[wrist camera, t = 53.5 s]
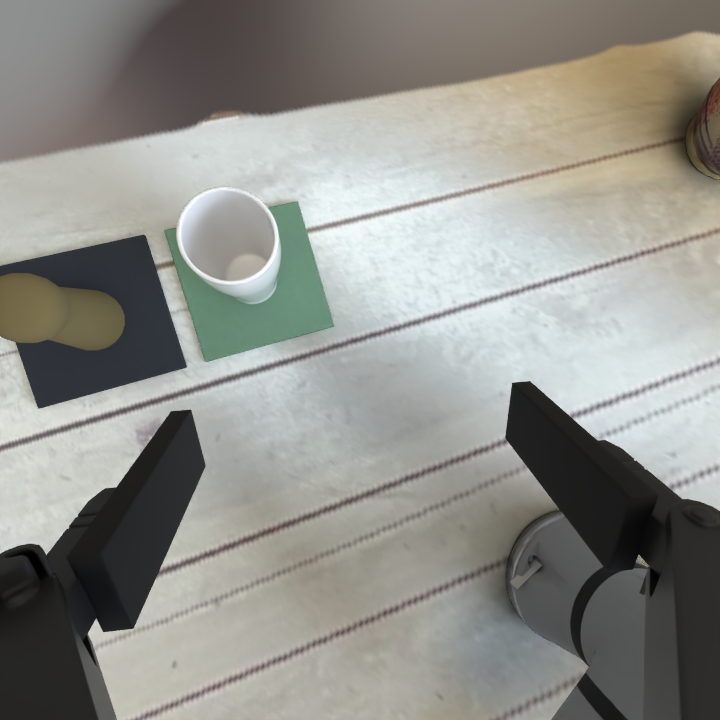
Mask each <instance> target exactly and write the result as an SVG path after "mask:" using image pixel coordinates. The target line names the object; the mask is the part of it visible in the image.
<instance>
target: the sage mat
mask: <svg viewBox="0 0 720 720" xmlns="http://www.w3.org/2000/svg"><path fill="white" fill-rule="evenodd" d="M268 209H269V210H270V212H271V213H272V215H273V217H274V219H275V222H276V225H277V228H278V232H279V236H280V242H281V263H280V268H279V272H278V276H277V286H276V289H275V291H274V293H273V294H272V296H271V297H270V298H269V299H267V300H266V301H264V302H262V303H259V304H245V303H242V302H240V301H238V300H236V299H235V298H234V297H231V296H229V295H226V294H224V293H222V292H219V291H218V290H216V289H214V288H212V287H211V286H209V285H208V284H207V283H205V282H204V281H203V280H202V279H201V278H200V277H199V276H197V275H196V274H195V272H194V271H193V270H192V269H191V268H190V267H189V266H188V264H187V263H186V262H185V260H184V259H183V257H182V255H181V253H180V250H179V247H178V244H177V238H176V228H173V229H168V230H165V234H166V237H167V240H168V244H169V247H170V250H171V253H172V256H173V260H174V263H175V266H176V269H177V272H178V276H179V279H180V282H181V285H182V288H183V292H184V295H185V298H186V301H187V304H188V308H189V311H190V314H191V317H192V320H193V324H194V327H195V330H196V333H197V336H198V340H199V343H200V346H201V349H202V352H203V356H204V359H205V362H208V361H211V360H215V359H218V358H222V357H226V356H229V355H233V354H236V353H240V352H244V351H247V350H251V349H254V348H258V347H261V346H265V345H269V344H272V343H276V342H279V341H283V340H287V339H290V338H294V337H297V336H301V335H304V334H308V333H312V332H315V331H319V330H322V329H326V328H330V327H333V326H334V324H333V321H332V317H331V314H330V311H329V307H328V304H327V300H326V297H325V293H324V290H323V286H322V283H321V280H320V276H319V273H318V269H317V266H316V262H315V259H314V255H313V252H312V249H311V245H310V242H309V238H308V235H307V231H306V228H305V224H304V221H303V218H302V214H301V211H300V207H299V204H298V202H293V203H288V204H283V205H279V206H274V207H270V208H268Z"/></svg>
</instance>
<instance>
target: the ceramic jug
mask: <svg viewBox="0 0 720 720" xmlns="http://www.w3.org/2000/svg"><path fill="white" fill-rule="evenodd" d="M685 140H686V149H687V153H688V156H689V158H690V160H691V162H692V164H693V165H694V166H695V167H696V168H697V169H698V170H699V171H701V172H702V173H703V174H705V175H707V176H710V177H712V178H715V179H719V180H720V78H719V79H718V80H717V82H716V83H715V84H714V85H713V86H712V88H711V90H710V91H709V93H708V95H707V97H706V99H705V101H704V103H703V105H702V107H701V109H700V111H699V113H698V114H697V115H696V116H695V117H694V118H693V119H692V120H691V121H690V123H689V126H688V128H687V131H686V137H685Z"/></svg>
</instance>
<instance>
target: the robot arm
mask: <svg viewBox="0 0 720 720" xmlns="http://www.w3.org/2000/svg"><path fill="white" fill-rule="evenodd" d="M505 438H506V439H507V441H508V442H509V443H510V445H511V446H512V447H513V449H514V450H515V451H516V453H517V454H518V455H519V457H520V458H521V459H522V460H523V462H524V463H525V464H526V466H527V467H528V468H529V470H530V471H531V472H532V474H533V475H534V476H535V478H536V479H537V480H538V482H539V483H540V484H541V485H542V487H543V488H544V489H545V491H546V492H547V493H548V495H549V496H550V497H551V499H552V500H553V501H554V503H555V504H556V505H557V506H558V508H559V509H560V510H561V511H557V512H552V513H549V514H547V515H545V516H542V517H541V518H539V519H537V520H536V521H535V522H533V523H532V524H531V525H530V526H529V527H527V529H526V530H525V531H524V532H523V533H522V534H521V536H520V537H519V538H518V540H517V542H516V543H515V545H514V547H513V550H512V552H511V555H510V558H509V561H508V566H507V576H506V578H507V590H508V594H509V597H510V600H511V603H512V605H513V607H514V609H515V610H516V612H517V613H518V615H519V616H520V617H521V618H522V619H523V620H524V622H525V623H526V624H527V625H528V626H529V627H530V628H531V629H532V630H533V631H534V632H535V633H537V634H538V635H540V636H541V637H543V638H545V639H547V640H549V641H551V642H553V643H555V644H557V645H558V646H560V647H562V648H563V649H565V650H567V651H569V652H570V653H572V654H574V655H576V656H577V657H579V658H581V659H582V660H583V661H584V662H585V663H586V664H587V665H588V666H589V668H588V670H587V671H586V673H585V674H584V675H583V677H582V678H581V680H580V681H579V682H578V684H577V685H576V686H575V688H574V689H573V691H572V692H571V693H570V695H569V696H568V698H567V699H566V700H565V702H564V703H563V704H562V706H561V707H560V709H559V710H558V711H557V713H556V714H555V715H554V717H553V718H552V720H720V511H719V510H717V509H715V508H714V507H712V506H709V505H707V504H704V503H702V502H698V501H694V500H689V499H681V498H680V497H679V496H678V495H677V494H675V493H674V492H673V491H672V490H671V489H669V488H668V487H667V486H666V485H665V484H663V483H662V482H661V481H660V480H659V479H657V478H656V477H655V476H654V475H653V474H652V473H650V472H649V471H648V470H647V469H646V470H645V469H644V467H643V466H642V465H641V464H640V463H638V462H637V461H634V458H632V457H631V456H630V455H629V454H628V453H626V452H625V451H624V450H623V449H622V448H620V447H618V446H616V445H614V444H612V443H610V442H608V441H606V440H600V441H597V440H596V439H595V438H594V437H593V436H591V435H590V434H589V433H588V432H587V431H586V430H585V429H583V428H582V427H581V426H580V425H579V424H578V423H577V422H576V421H574V420H573V419H572V418H571V417H570V416H569V415H568V414H566V413H565V412H564V411H563V410H562V409H561V408H560V407H559V406H557V405H556V404H555V403H554V402H553V401H552V400H551V399H549V398H548V397H547V396H546V395H545V394H544V393H543V392H542V391H540V390H539V389H538V388H537V387H536V386H535V385H534V384H532V383H531V382H530V381H528V382H516V383H512V389H511V397H510V405H509V413H508V421H507V429H506V437H505ZM204 468H205V462H204V458H203V454H202V450H201V446H200V442H199V438H198V434H197V431H196V427H195V423H194V419H193V415H192V411H191V410H182V411H171V412H170V414H169V415H168V417H167V418H166V419H165V421H164V422H163V424H162V425H161V426H160V428H159V429H158V431H157V432H156V433H155V435H154V436H153V437H152V439H151V440H150V442H149V443H148V444H147V446H146V447H145V449H144V450H143V451H142V453H141V454H140V456H139V457H138V458H137V460H136V461H135V463H134V464H133V465H132V467H131V468H130V469H129V471H128V472H127V474H126V475H125V476H124V478H123V479H122V481H121V482H120V483H119V485H118V486H117V488H106V489H104V490H102V491H101V492H100V493H98V494H97V495H96V496H95V497H93V498H92V499H91V500H89V501H88V503H87V504H86V505H85V507H84V508H83V509H82V510H81V512H80V513H79V514H78V517H76V518H75V519H74V521H73V522H72V523H71V525H70V526H69V529H67V530H66V531H65V532H64V533H63V535H62V536H61V537H60V539H59V540H58V541H57V542H56V544H55V545H54V546H53V548H52V549H51V550H50V551H49V553H48V554H47V555H46V554H45V552H44V550H43V549H42V548H41V547H40V546H39V545H35V544H26V545H21V546H17V547H14V548H12V549H9V550H7V551H4V552H3V553H1V554H0V720H117V718H116V715H115V712H114V709H113V706H112V703H111V700H110V697H109V694H108V691H107V688H106V685H105V682H104V679H103V676H102V672H101V669H100V666H99V663H98V660H97V657H96V654H95V651H94V648H93V645H92V642H91V640H90V638H89V636H88V632H89V630H90V628H91V626H92V625H93V623H94V621H95V619H96V618H97V620H98V622H99V624H100V626H101V628H102V630H103V632H108V631H116V630H125V629H133V628H134V626H135V624H136V622H137V619H138V617H139V615H140V613H141V610H142V608H143V606H144V604H145V601H146V599H147V597H148V595H149V592H150V590H151V588H152V586H153V583H154V581H155V579H156V577H157V574H158V572H159V570H160V567H161V565H162V563H163V561H164V558H165V556H166V554H167V552H168V549H169V547H170V545H171V543H172V540H173V538H174V536H175V534H176V531H177V529H178V527H179V525H180V522H181V520H182V518H183V516H184V513H185V511H186V509H187V507H188V504H189V502H190V500H191V498H192V495H193V493H194V491H195V489H196V486H197V484H198V482H199V480H200V477H201V475H202V473H203V471H204ZM638 554H639V555H640V556H641V557H642V558H643V559H644V560H645V562H646V563H647V564H648V565H649V567H648V568H647V567H645V566H644V565H642V564H641V563H640V562H639V561H638V560H637V557H638Z"/></svg>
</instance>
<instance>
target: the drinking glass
mask: <svg viewBox="0 0 720 720" xmlns="http://www.w3.org/2000/svg"><path fill="white" fill-rule="evenodd" d="M176 238H177V244H178V247H179V250H180V253H181V255H182V257H183V259H184V260H185V262H186V263H187V264H188V266H189V267H190V268H191V269H192V270H193V271H194V272H195V274H196V275H197V276H199V277H200V278H201V279H202V280H203V281H204V282H205V283H207V284H208V285H209V286H211V287H212V288H214V289H216V290H218V291H219V292H222V293H224V294H226V295H229V296H231V297H234V298H235V299H236V300H238V301H240V302H242V303H245V304H259V303H262V302H264V301H266V300H267V299H269V298H270V297H271V296H272V294H273V293H274V291H275V289H276V286H277V276H278V272H279V268H280V263H281V242H280V236H279V232H278V228H277V225H276V222H275V219H274V217H273V215H272V213H271V212H270V210H269V209H268V208H267V206H266V205H265V204H264V203H263V202H262V201H261V200H260V199H258V198H257V197H256V196H254V195H252V194H251V193H249V192H247V191H244V190H242V189H238V188H234V187H215V188H210V189H207V190H205V191H202V192H201V193H199V194H197V195H196V196H194V197H193V198H192V199H191V200H190V201H189V202H188V203H187V204H186V205H185V207H184V208H183V210H182V211H181V214H180V216H179V219H178V222H177V228H176Z"/></svg>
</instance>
